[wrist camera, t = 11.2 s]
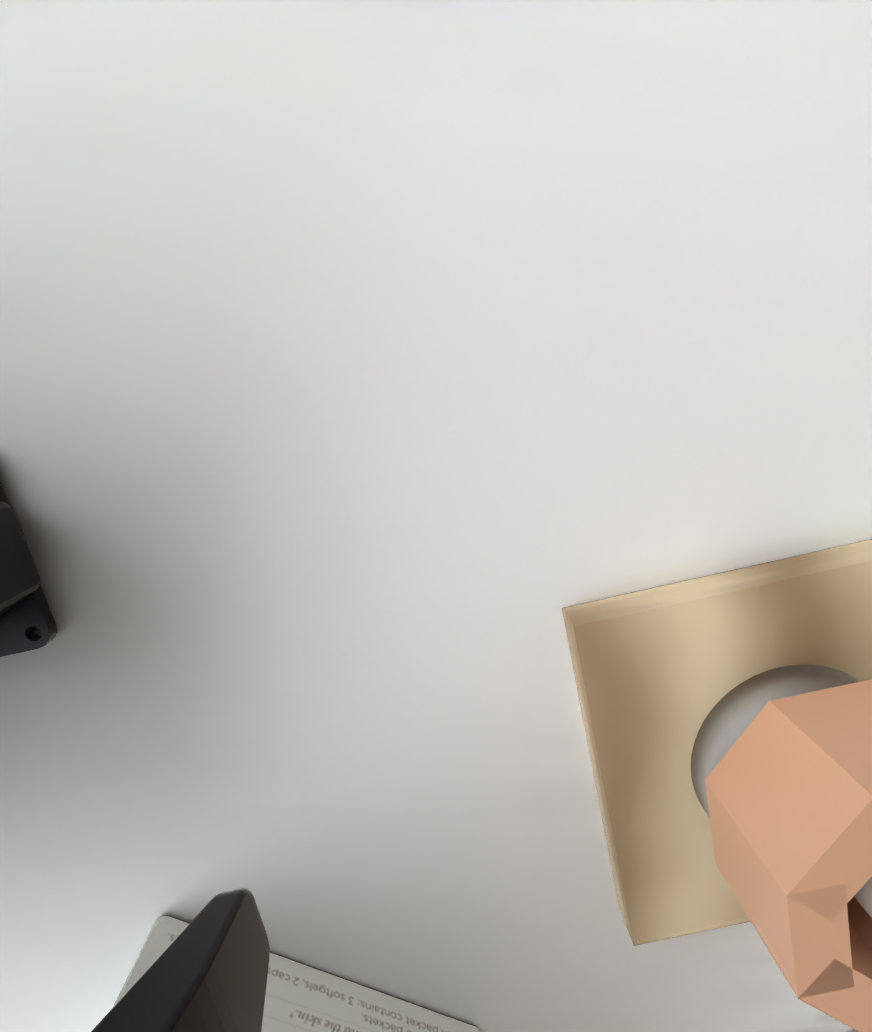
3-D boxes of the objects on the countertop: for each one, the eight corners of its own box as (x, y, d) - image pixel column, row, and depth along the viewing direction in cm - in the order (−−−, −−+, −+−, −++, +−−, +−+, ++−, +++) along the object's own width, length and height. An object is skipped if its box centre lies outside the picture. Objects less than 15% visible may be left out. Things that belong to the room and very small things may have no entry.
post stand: (620, 908, 23) (736, 1217, 14) (561, 608, 20) (663, 771, 12) (945, 840, 22) (1258, 1114, 14) (930, 526, 20) (1302, 634, 11)
